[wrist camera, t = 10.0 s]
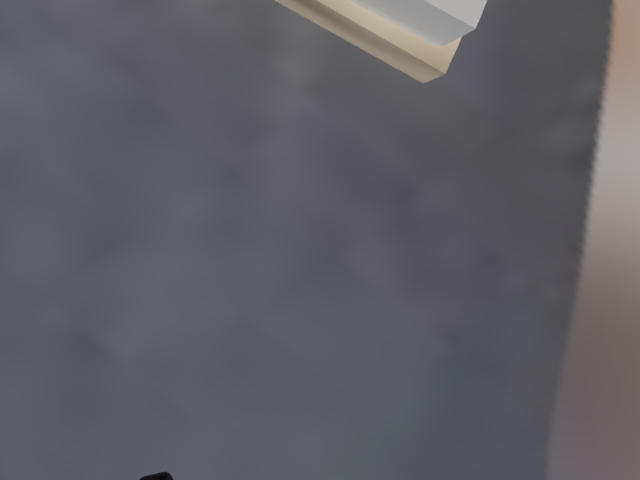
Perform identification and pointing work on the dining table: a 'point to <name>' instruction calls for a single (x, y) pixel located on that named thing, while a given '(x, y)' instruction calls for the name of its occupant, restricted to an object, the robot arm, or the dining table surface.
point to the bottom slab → (378, 37)
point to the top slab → (429, 17)
